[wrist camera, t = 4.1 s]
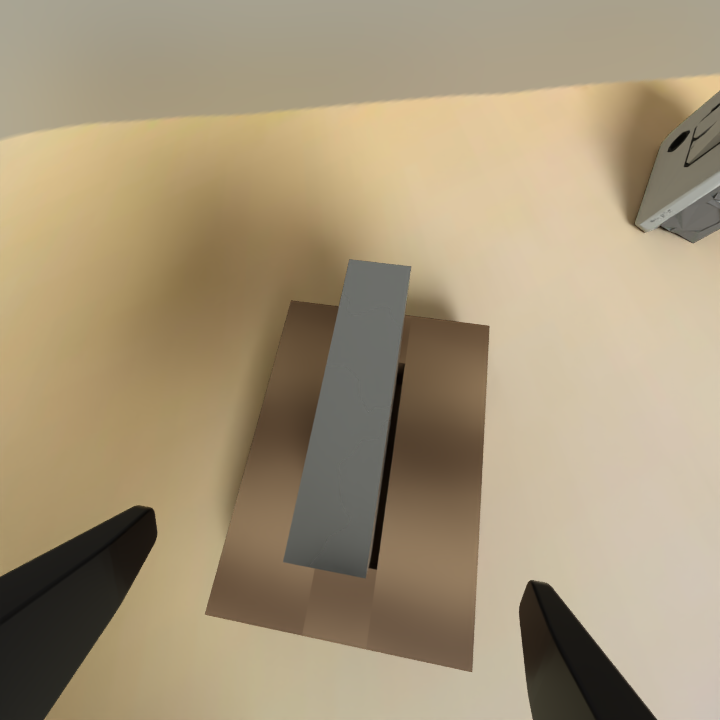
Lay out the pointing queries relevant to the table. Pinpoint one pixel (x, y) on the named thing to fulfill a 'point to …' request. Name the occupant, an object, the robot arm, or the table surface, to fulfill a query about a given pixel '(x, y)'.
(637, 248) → the table surface
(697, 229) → the electrical switch
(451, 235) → the table surface
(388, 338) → the gray rectangular metal block
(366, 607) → the walnut slot box
